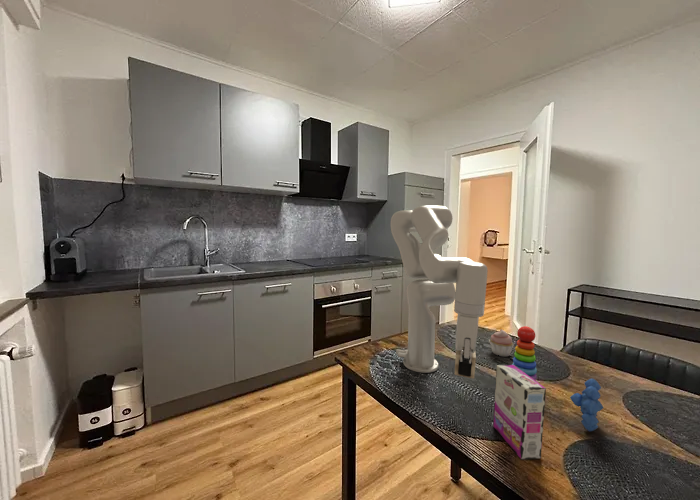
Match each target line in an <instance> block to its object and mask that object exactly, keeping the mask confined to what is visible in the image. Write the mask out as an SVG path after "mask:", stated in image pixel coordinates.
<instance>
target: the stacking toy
mask: <svg viewBox="0 0 700 500" xmlns="http://www.w3.org/2000/svg"><path fill="white" fill-rule="evenodd" d="M516 334H517V337H518V340H517V341H516V346H515V348H514V350H515V352H514V354H513V355H514V356H513V358H512V362H513V363H512V364H511V365H514V366H516V367H517V368H519V369H520V370H521V371H523V372H524V373H525V374H527V375H528V376H530V377H531V378H532V379H534V380H535V381H537V382H538V380H537V378H538V377H537V373H538V369H537V362H536V360H537V358H536V355H535V353H536V352H535V343H534V342H533V341H534V340H535V339H536V331H535V330H534V329H533V328H531V327H530V326H526V325H525V326H521V327H518V329H517V331H516Z"/></svg>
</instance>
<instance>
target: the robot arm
mask: <svg viewBox="0 0 700 500" xmlns="http://www.w3.org/2000/svg"><path fill="white" fill-rule="evenodd" d="M452 213H453V212H451V210H450V209H449V208H448V207H447V206H444V205H420V206H419V205H418V206H417V207H415V208H414V209H411V210H410V209H405V210H403V209H402V210H399V211H398V210H397V211H396V212H394V213H393V214H392V216H391V218H390V230H391V235H392V237H393V240H394V242H395V243H396V245H397V248H398V250H399V252H400V257H401V261H402V265H403V269H404V272H405V275H406V276H407V277H408V278H409V279H413V280H412V281H411V282H409V283H408V285H407V286H406V299H407V306H408V321H407V322H408V329H407V330H408V331H407V333H408V334H407V349H405V350H403V349H399V348H397V349H396V351H395V354H396V355H397V357H398V358H403V360H402V363H403V365H404V366H405V367H406V368H407V369H408V370H410V371H413V372H416V373H421V374H422V373H424V374H425V373H426V374H427V373H433V372H435V371H437V370H438V369H439V362H438V361H437V359H435V349H436V348H435V344H436V316H435V315H434V312H432V311H431V309H430V308H431V307H436V306H439V307H440V306H447V305H451V304H453V302H454V306H453V307H454V309H453V311H454V313H456V314H457V318H456V328H455V329H456V330H455V341H454V342H455V346H454V347H455V351H456V350H457V351H458V350H461V355H460V360H459V368H458V374H459V375H464V376H468V377H470V376H471V368H472V362H471V358H472V353H474V352H475V353H476V348H477V347H476V345H477V341H478V332H479V330H478V329H479V319H480V318H482V317H483V316H485V307H486V296H487V295H486V294H487V282H488V266H487V265H486V264H485V263H482V262H478V261H474V260H472V259H471V258H468V257H466V256H465V257H464V256H458V257H457V256H455V257H454V256H449V257H448V256H442V255H440V254H438V253H434V251H436V250H437V249H439V248H441V247H443V245H445V243H447V240H448V239H449V231H448V228H450V227H451V226H452V225H453V214H452ZM412 232H413V233H415V232H416V233H417V234H418V236H419V237H420V239H421V241H422V242H421V243H420V241H419V239H417V237H415V236H414V235H413V234H412ZM454 284H455V285H454ZM462 348H464V350H463V349H462ZM463 353H464V355H463ZM468 377H467V378H468Z"/></svg>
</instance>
